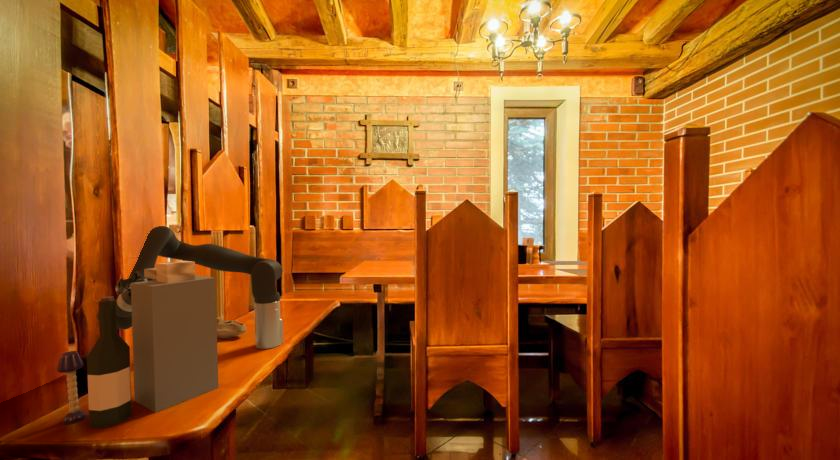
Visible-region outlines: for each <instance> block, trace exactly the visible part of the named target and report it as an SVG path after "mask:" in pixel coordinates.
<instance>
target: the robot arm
mask: <svg viewBox="0 0 840 460" xmlns="http://www.w3.org/2000/svg"><path fill="white" fill-rule="evenodd" d="M151 229H152V230H151ZM151 229H150V230H151V231H150V230H149V231H150V233H149V234H148V233H147V234H148V236H147V239H146V241H145V243H144V242H143V243H144V246H143V245H142V246H143V248H142V247H141V248H142V250H141V249H140V251H141V252H140V251H139V253H140V255H139V254H138V255H139V257H138V256H137V258H138V260H137V259H136V260H137V262H136V261H135V263H136V264H135V263H134V265H135V266H134V265H133V267H134V268H133V267H132V269H133V270H132V269H131V271H132V272H131V271H130V273H131V274H130V273H129V274H130V276H129V275H128V276H129V277H128V276H127V278H128V279H127V278H123V277H122V278H120V279H118V281H117V283H116V284H115V286H114V289H115V293H116V295H117V298H115V299H116V314H117V329H119V330H124V331H126V330H129V329H130V328H132V304H131V283H135V282H143V281H151V280H157V279H152V278H145V273H144V269H150V268H156V267H155V266H156V262H157V259H158V256H159V257H161V258H167V259H172V260H177V261H192V262H195V265H199V266H202V267H205V268H209V269H210V270H211V269H212V270H216V271H219V272H228V273H229V272H230V273H241V274H247V275H250V283H251V293H252V297H253V301H254V332H255V333H254V336H255V337H254V338H255V340H254V341H255V348H257V349H259V350H264V349H267V350H268V349H271V348H272V349H273V348H275V347H276V348H277V347H278V346H280V345H281V344H283V343H284V324H283V323H284V322H283V321H284V320H283V318H281V294H280V292H278V291H277V290H278V289H277V280H279V279H280V278H281V277H282V275H283V267H282V265H281V264H280V263H279V261H276V260H275V259H270V258H263V257H258V256H253V255H249V254H246V253H244V252H241V251H238V250H234V249H231V248H228V247H225V246H221V245H218V244H213V243H203V244H199V245H194V244H191V243H190V244H189V243H186V242H183V241H181V240H180V239H178V238H177V236H176V234H175V233H174V231H173V230H172V228H170V227H168V226H167V225H166V226H165V225H159V226H155V227H152V228H151ZM96 320H97V322H99V311H98V312H97V315H96Z"/></svg>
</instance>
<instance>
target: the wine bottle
mask: <svg viewBox="0 0 840 460" xmlns="http://www.w3.org/2000/svg"><path fill="white" fill-rule="evenodd" d="M114 297H115V296H114V295H113V296H103V297H101V298H100V300H99V301H98V312H99V321H98V323H99V324H98V325H99V326H98V331H99V336H98V338H97V340H96V342H95V343H94V345H93V346H92V348H91V350H90V351H89V353H88V355H87V357H86V365H87V367H86V370H87V371H86V372H87V390H88V391H87V392H88V395H87V396H88V420H89V421H88V422H89V423H88V425H89V428H91V429H104V428H108V427H112V426H116V425H120V424H121V423H123V422H125V421H126V420H128V419H130V418H132V414H133V413H132V412H133V405H132V404H133V403H132V379H131V378H132V375H131V350H130V349H131V347H130V345H129V344H128V343H127V342H126V341H125V340H124V338H122V337H121V335H120V334H119V333H118V328H117V314H116V299H117V298H114Z"/></svg>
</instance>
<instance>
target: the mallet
mask: <svg viewBox="0 0 840 460" xmlns="http://www.w3.org/2000/svg"><path fill="white" fill-rule="evenodd" d="M155 266H156V267H154V268H150V269H144V273H145V278H152V279H156V280H157V282H163V283H173V282H180V281H188V280H195V275H196V264H195V262H192V261H183V260H177V261H168V262H167V261H165V262H157V263H155Z"/></svg>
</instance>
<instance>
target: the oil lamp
mask: <svg viewBox="0 0 840 460" xmlns="http://www.w3.org/2000/svg"><path fill="white" fill-rule="evenodd" d="M247 330H248V329H247V326H246V324H245V323H242V322H239V321H237V320H229V319H227V320H224V319H222V317H220V316H219V317H217V338H219V339H232V338H235V337H236V336H240V335H243V334H245V332H246V331H247Z"/></svg>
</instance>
